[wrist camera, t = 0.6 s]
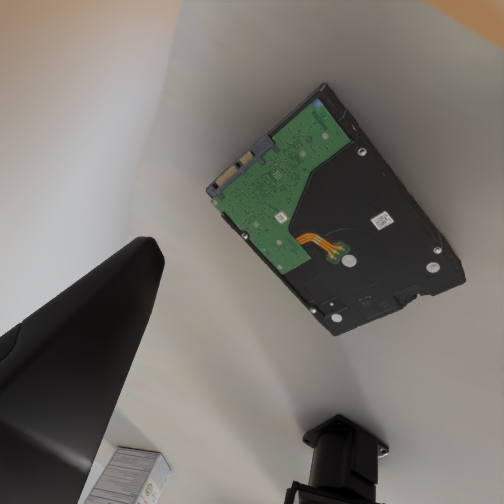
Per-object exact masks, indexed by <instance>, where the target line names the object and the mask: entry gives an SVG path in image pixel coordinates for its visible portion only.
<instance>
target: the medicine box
mask: <svg viewBox="0 0 504 504" xmlns="http://www.w3.org/2000/svg"><path fill="white" fill-rule="evenodd" d="M169 474H170V468H169V466H168V464H167V462H166V461H165V459H164V457H163V456H162V454H160V453H154V452H146V451H140V450H133V449H126V448H120V447H118V448H117V449H116V451H115V452H114V454H113V456H112V457H111V459H110V461H109V462H108V464H107V465H106V467H105V469H104V470H103V472H102V473H101V475H100V477H99V478H98V480H97V482H96V483H95V485H94V486H93V488H92V490H91V491H90V493H89V495H88V496H87V498H86V499H85V501H84V503H83V504H156V502H157V500H158V498H159V495H160V493H161V491H162V489H163V487H164V485H165V483H166V481H167V478H168V476H169Z"/></svg>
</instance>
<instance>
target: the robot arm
mask: <svg viewBox="0 0 504 504" xmlns="http://www.w3.org/2000/svg"><path fill="white" fill-rule="evenodd" d="M164 265H165V259H164V256H163V254H162V252H161V250H160V248H159V246H158V244H157V242H156V241H155V239H154V238H152V237H142V236H141V237H137V238H135V239H134V240H133V241H131V242H130V243H129V244H127V245H126V246H124V247H123V248H122V249H120V250H119V251H118V252H116V253H115V254H113V255H112V256H111V257H109V258H108V259H107V260H105V261H104V262H103V263H101V264H100V265H98V266H97V267H96V268H94V269H93V270H92V271H90V272H89V273H88V274H86V275H85V276H83V277H82V278H81V279H79V280H78V281H77V282H75V283H74V284H72V285H71V286H70V287H68V288H67V289H66V290H64V291H63V292H61V293H60V294H59V295H57V296H56V297H55V298H53V299H52V300H50V301H49V302H48V303H46V304H45V305H44V306H42V307H41V308H39V309H38V310H37V311H35V312H34V313H33V314H31V315H30V316H29V317H27V318H26V319H24V320H23V321H22V323H19V324H17V325H16V326H15V327H13V328H12V329H11V330H9V331H8V332H7V333H5V334H4V335H2V336H1V337H0V504H77V503H78V500H79V498H80V495H81V493H82V490H83V488H84V485H85V483H86V480H87V478H88V475H89V472H90V470H91V467H92V464H93V461H94V459H95V457H96V454H97V451H98V449H99V446H100V444H101V441H102V439H103V436H104V434H105V431H106V428H107V426H108V423H109V421H110V418H111V416H112V413H113V411H114V408H115V405H116V403H117V400H118V398H119V395H120V393H121V390H122V388H123V385H124V382H125V380H126V377H127V375H128V372H129V370H130V367H131V365H132V362H133V359H134V357H135V354H136V352H137V349H138V347H139V344H140V342H141V339H142V336H143V334H144V331H145V329H146V326H147V324H148V321H149V318H150V315H151V313H152V309H153V306H154V302H155V299H156V295H157V291H158V288H159V284H160V280H161V276H162V273H163V269H164ZM303 442H304V443H306V444H307V445H309V446H310V447H312V448H314V452H313V458H312V465H311V471H310V477H309V484H308V485H305V484H301V483H299V482H297V481H293V483H292V487H291V488H289V489H287V492H286V497H285V501H284V504H380V503H376V484H378V458H380V457H382V456H384V455H386V454H388V453H389V447H388V446H386V445H385V444H383V443H382V442H380V441H379V440H377V439H376V438H374V437H373V436H371V435H370V434H368V433H367V432H365V431H364V430H362V429H361V428H359V427H358V426H356V425H354V424H353V423H351V422H350V421H348V420H347V419H345V418H344V417H342V416H335V417H333V418H332V419H330V420H329V421H327V422H325V423H324V424H322V425H320V426H319V427H317V428H315V429H314V430H312V431H310V432H309V433H307V434H305V435H304V436H303ZM383 504H385V503H383Z"/></svg>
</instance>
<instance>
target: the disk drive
mask: <svg viewBox="0 0 504 504" xmlns="http://www.w3.org/2000/svg"><path fill="white" fill-rule="evenodd" d="M206 193H207V194H208V195H209V196H210V197H211V198H212V200H211V202H212V204H213V205H214V206H215V207H216V208H217V209H218V210H219V211H220V212H221V216H222V217H223V219H224V220H225V221H226V222H227V223H228V224H229V225H230V226H231V228H233V229H234V230H235V231H236V232H237V233H238V234H239V235H240V236H241V237H242V238H243V239H244V240H245V242H246V243H247V244H248V245H249V246H250V247H251V248H252V249H253V251H254V252H255V253H256V254H257V255H258V256H259V257H260V258H261V259H262V260H263V261H264V263H266V264H267V266H268V267H269V268H270V269H271V270H272V271H273V272H274V273H275V274H276V276H278V277H279V278H280V279H281V280H282V282H283V283H284V284H285V285H286V286H287V287H288V288H289V289H290V290H291V292H292V293H293V294H294V295H295V296H296V297H297V298H298V299H299V300H300V301H301V302H302V303H303V305H304V306H305V307H306V308H307V309H308V310H309V311H310V312H311V313H312V314H313V316H314V317H315V318H316V319H317V320H318V321H319V322H320V323H321V324H322V325H323V326H324V327H325V328H326V329H327V330H328V331H329V332H330V333H331V334H332V335H333V336H338V335H340V334H343V333H345V332H348V331H350V330H353V329H355V328H357V327H358V326H361V325H364V324H366V323H369V322H371V321H374V320H376V319H379V318H382V317H384V316H387V315H388V314H391V313H394V312H397V311H399V310H401V309H403V307H405V306H406V305H407V304H408V303H410V302H411V301H412V300H414V299H416V298H417V294H420V295H421V296H423V295H429V294H430V295H431V296H435V295H437V294H440V293H442V292H445V291H447V290H449V289H452V288H454V287H457V286H459V285H462V284H464V283H465V282H466V278H465V273H464V270H463V268H462V265H461V261H460V260H459V259H458V258H457V256H456V255H455V253H454V251H453V250H452V248H451V247H450V245H449V244H448V242H447V241H446V240H445V238H444V237H443V236H442V235H441V233H439V232H438V230H437V229H436V228H435V226H434V225H433V224H432V223H431V221H430V220H429V219H428V217H427V216H426V214H425V213H424V212H423V210H422V209H421V208H420V207H419V205H418V204H417V203H416V201H415V200H414V198H413V197H412V196H411V195H410V193H409V192H408V191H407V189H406V188H405V187H404V186H403V184H402V183H401V182H400V180H399V179H398V178H397V177H396V175H395V174H394V172H393V171H392V170H391V168H390V167H389V165H388V164H387V163H386V161H385V160H384V159H383V157H382V156H381V155H380V153H379V152H378V151H377V149H376V148H375V147H374V145H373V144H372V143H371V142H370V140H369V139H368V137H367V136H366V135H365V134H364V132H363V131H362V129H361V128H360V127H359V126H358V123H357V122H356V120H355V119H354V117H353V116H352V115H351V114H350V113H349V111H348V110H347V109H346V108H345V107H344V106H343V104H342V103H341V102H340V100H339V99H338V98H337V96H336V95H335V93H334V92H333V91H332V90H331V89H330V87H329V86H328V84H327V83H323V84H322V85H320V86H319V87H318V88H317V89H316V90H315V91H314V92H313V93H312V94H311V95H310V96H308V97H307V98H306V99H305V100H304V101H303V102H302V103H301V104H299V105H298V106H297V107H296V108H295V109H294V110H293V111H292V112H290V113H289V114H288V115H287V116H286V117H285V118H284V119H283V120H281V121H280V122H279V123H278V124H277V125H276V126H275V127H274V128H273V129H271V130H270V131H269V132H268V133H267V134H266V135H265V136H264V137H263V138H262V139H261V140H260V141H258V142H257V143H256V144H255V145H254V146H252V147H251V148H250V149H249V150H248V151H247V152H246V153H245V154H243V155H242V156H241V157H240V158H239V159H238V160H237V161H236V162H235V163H233V164H232V165H231V166H230V167H229V168H228V169H227V170H226V171H225V172H223V173H222V174H221V175H220V176H219V177H218V178H217V179H216V180H214V181H213V182H212V183H211V184H210V185H209V186H208V187H207V188H206Z"/></svg>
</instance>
